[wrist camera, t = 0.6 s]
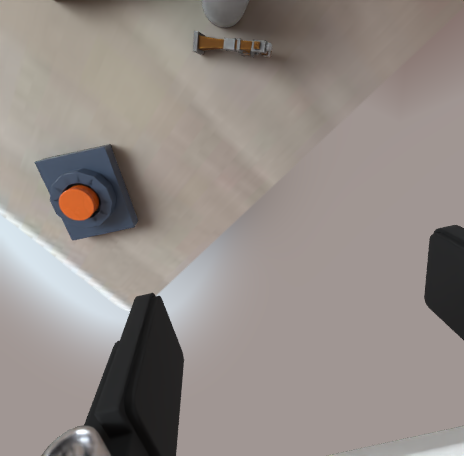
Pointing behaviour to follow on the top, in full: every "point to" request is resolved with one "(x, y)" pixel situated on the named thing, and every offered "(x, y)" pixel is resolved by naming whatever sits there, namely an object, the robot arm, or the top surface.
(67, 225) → the button box
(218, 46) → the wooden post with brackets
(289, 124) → the top surface
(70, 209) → the button
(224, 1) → the grey hollow tube
